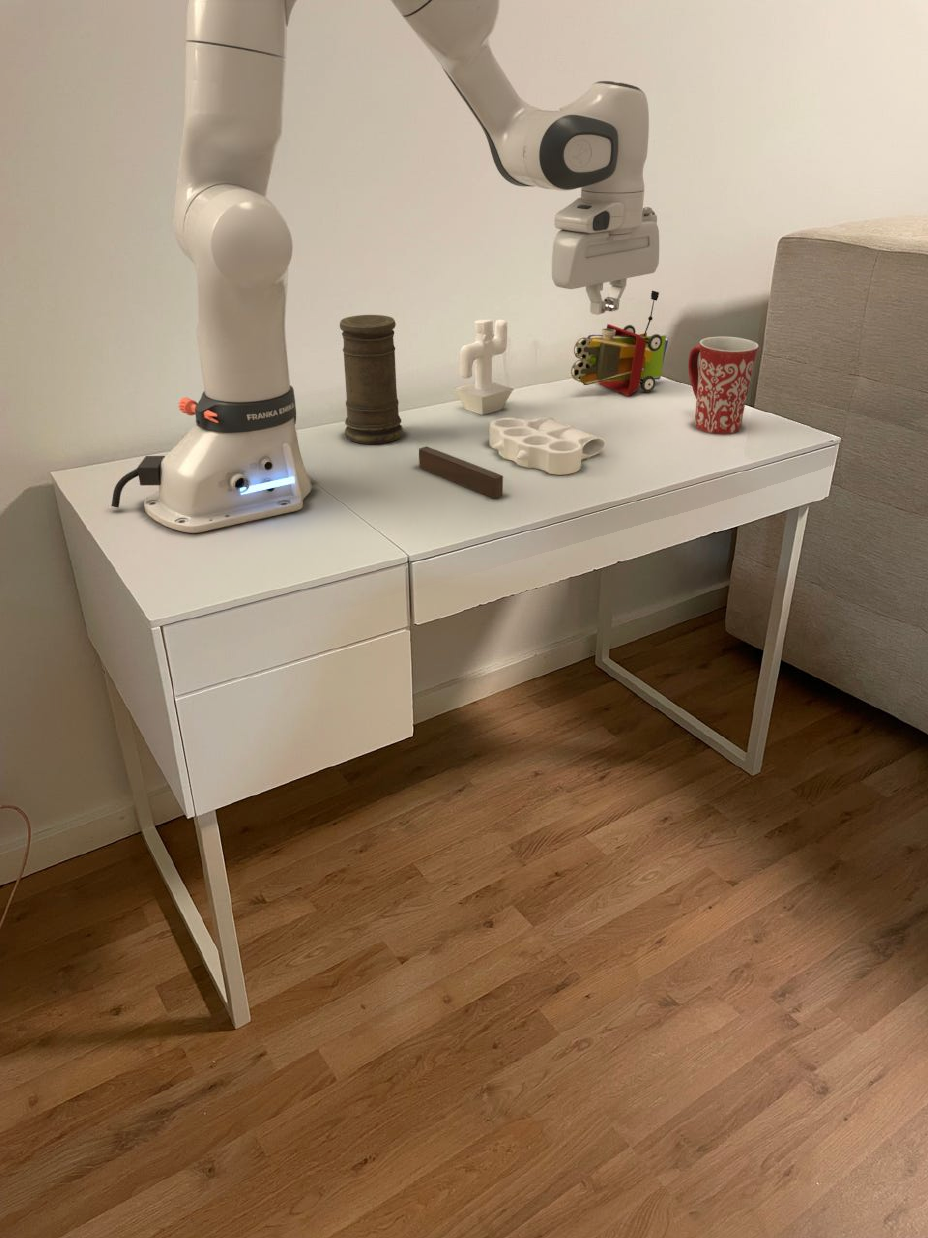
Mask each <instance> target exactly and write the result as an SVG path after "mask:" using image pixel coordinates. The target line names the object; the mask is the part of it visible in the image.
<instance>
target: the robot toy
mask: <svg viewBox="0 0 928 1238" xmlns="http://www.w3.org/2000/svg"><path fill="white" fill-rule="evenodd" d="M659 296H660V291H656V290H651V293H650V300H652V301H653V302H652V306H651V311H650V315H649V316H648V318H647V319H648V322H647V325H646V328H645V330H644V333H639V334H638V333H636V328H635V327H634V326H633V324H627V325H626V326H624V327H623V328H621V327H617V326H615V325H612V324H608V323H607V324H606V327H605V328H602V329H601V334H590V335H588V336H587V337H586V336H585V337H584V336H583V337H581V338H579V339H578V340H577V341H576V342H575V343H574V347H573V354H574V356H575V358H576V359H578V360H575V362H574V363H573V365H572V366H571V370H570V375H571V377H572V379H573V380H574V381H577V382H578V383H581V384H583V386H589V385H593V384H597V383H598V384H599V385H601V386H604V387H606V388H608V389H610V390H613V391H614V392H617V393H619V394H621V395H623V396H625V397H630V396H631V395H632V394H633V393H635V392H637V391H639V388H640V387H641V390H642V391H643V392H645V393H650V392H651V391H653V390H654V388H655V386H656V380H660V379H661V378H662V371H663V368H664V367H663V366H664V363H665V357H666V354H667V348H668V345H669V344H668V343H669V337H667V335H666V334H665V335H660V334H658V333H655V334H653V335H649V336H648V332H647V331H648V329H649V326H650V323H651V321H653V310H654V304H655V301H658V299H659Z"/></svg>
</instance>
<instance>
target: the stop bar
mask: <svg viewBox="0 0 928 1238" xmlns="http://www.w3.org/2000/svg"><path fill="white" fill-rule="evenodd" d="M418 463H419V465H418V466H419V467H418V468H419V469H421V470H424V471H426V472H429V473H430V474H433V475H436V476H438V477H441V478H443V479H445V480H448V481H450V482H453V483H455V484H457V485H460V486H462V487H464V488H467V489H469V490H471V491H474V492H477V493H480V494H482V495H485V496H487V497H489V498H491V499H493V500H496V499H499V498H502V497H503V496H504V495H503V494H504V493H503V492H504V475H502V474H500V473H497V472H494V471H491V470H489V469H486V468H485V467H482V466H479V465H476V464H474V463H471V462H468V461H466V460H463V459H461V458H458V457H456V456H454V455H450V454H448V453H446V452H443V451H440V450H437V449H435V448H433V447H431V446H427V445H425V446H422V447H419V448H418Z"/></svg>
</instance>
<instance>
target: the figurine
mask: <svg viewBox="0 0 928 1238" xmlns="http://www.w3.org/2000/svg"><path fill="white" fill-rule="evenodd" d="M473 323H474V336H475V337H474V339H475V340H474V342H471V343H466V344H464V345H463V346H462V347H461V349H460V351H459V376H460V377H461V378H463V379H471V378H472V376H473V364H475V368H474V371H475V372H474V373H475V374H474V375H475V376H474V382H471V383H467V384H463V385H459V386H455V387H453V390H454V392H455V394H456V395H457V397H458V399H459V400H460V402H461V404H462V405H463V408H464V409H465V410H466V411H470V412H473V413H475V414H479V415H481V416H484V415H487V414H491V413H495V412H498V411H502V409H503V408H504V406H505V404H506V403H507V401H508V399H509V397H510V396H511V394H512V393H513V391H514V388H513V387H510V386H506V385H503V384H500V383H496V382H493V357H495V356H499V355H502V354H503V353H505V352H506V350H507V347H508V323H507V321H506V320H505V319H501V318H499V319H496V320H495V322H494V321H493V319H488V318H487V319H486V318H485V319H477V320H474V322H473ZM494 323H495V324H494ZM474 361H475V362H474Z"/></svg>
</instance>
